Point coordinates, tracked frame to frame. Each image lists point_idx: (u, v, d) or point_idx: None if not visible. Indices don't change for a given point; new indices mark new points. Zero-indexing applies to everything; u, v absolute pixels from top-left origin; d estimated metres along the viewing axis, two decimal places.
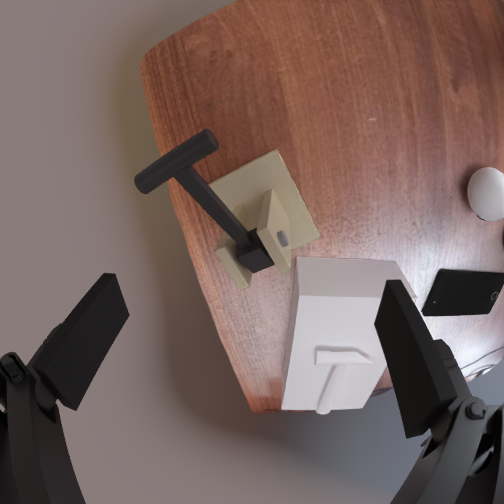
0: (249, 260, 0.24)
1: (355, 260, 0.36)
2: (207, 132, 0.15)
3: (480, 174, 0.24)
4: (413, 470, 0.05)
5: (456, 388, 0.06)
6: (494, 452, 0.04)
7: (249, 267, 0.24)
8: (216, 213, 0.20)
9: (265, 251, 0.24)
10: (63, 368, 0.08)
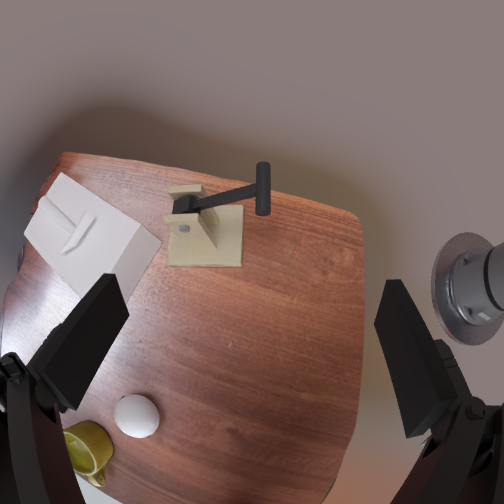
0: (183, 201, 0.34)
1: (136, 282, 0.44)
2: (267, 211, 0.28)
3: (155, 412, 0.34)
4: (413, 470, 0.05)
5: (456, 388, 0.06)
6: (494, 452, 0.04)
7: (179, 199, 0.34)
8: (222, 196, 0.31)
9: (183, 213, 0.34)
10: (63, 368, 0.08)
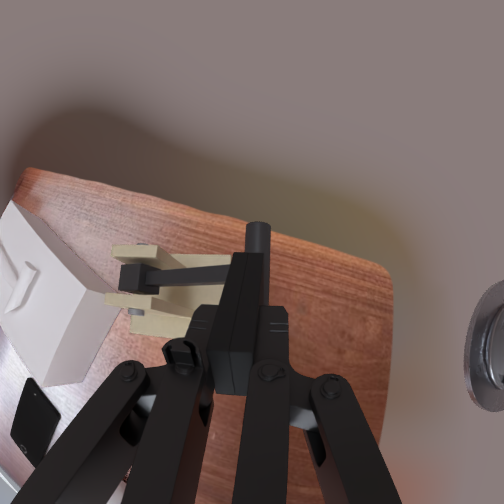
0: (132, 271, 0.21)
1: (97, 349, 0.31)
2: None
3: None
4: None
5: (272, 350, 0.09)
6: (324, 441, 0.06)
7: (127, 266, 0.21)
8: (188, 274, 0.19)
9: (132, 290, 0.21)
10: None
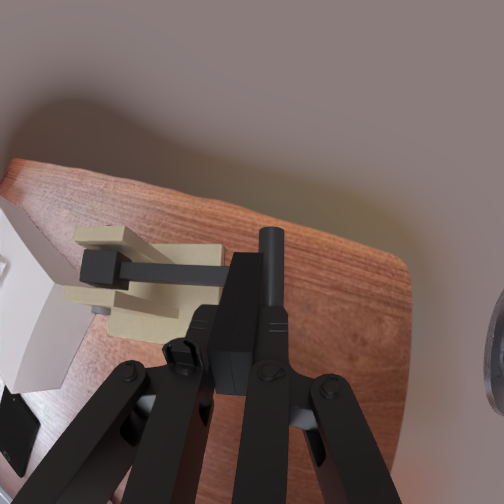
0: (104, 260, 0.16)
1: (74, 352, 0.26)
2: None
3: None
4: None
5: (272, 351, 0.09)
6: (323, 441, 0.06)
7: (94, 253, 0.16)
8: (186, 272, 0.16)
9: (101, 284, 0.16)
10: None
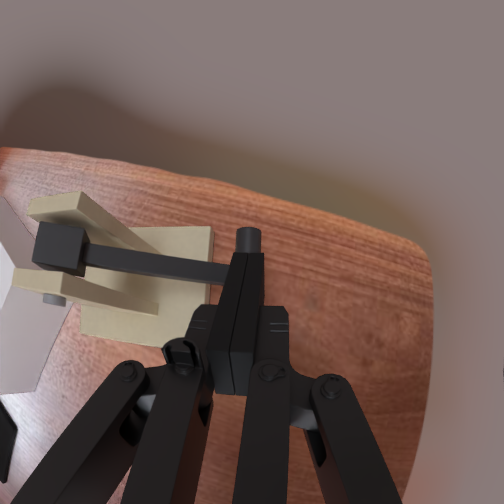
0: (67, 238, 0.12)
1: (47, 352, 0.21)
2: None
3: None
4: None
5: (272, 351, 0.09)
6: (324, 441, 0.06)
7: (54, 227, 0.11)
8: (164, 264, 0.14)
9: (60, 268, 0.12)
10: None
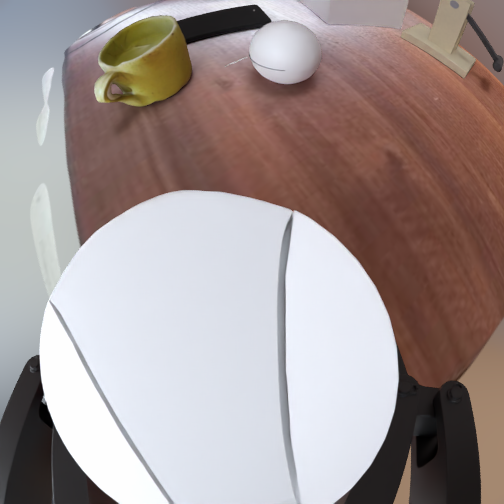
0: None
1: (363, 23, 0.29)
2: (499, 70, 0.19)
3: (320, 59, 0.21)
4: None
5: None
6: (439, 441, 0.05)
7: None
8: (483, 34, 0.18)
9: None
10: None
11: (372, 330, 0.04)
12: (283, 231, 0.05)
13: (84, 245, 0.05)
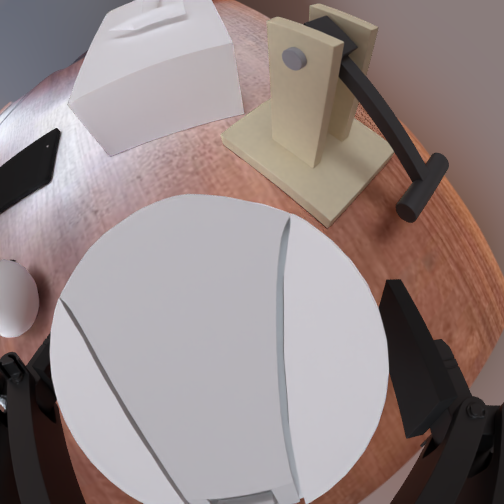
0: (342, 39, 0.11)
1: (163, 133, 0.24)
2: (411, 220, 0.15)
3: (23, 317, 0.17)
4: (413, 470, 0.05)
5: (456, 388, 0.06)
6: (494, 452, 0.04)
7: (336, 26, 0.11)
8: (391, 117, 0.13)
9: None
10: None
11: (363, 324, 0.04)
12: (281, 233, 0.05)
13: (94, 245, 0.05)
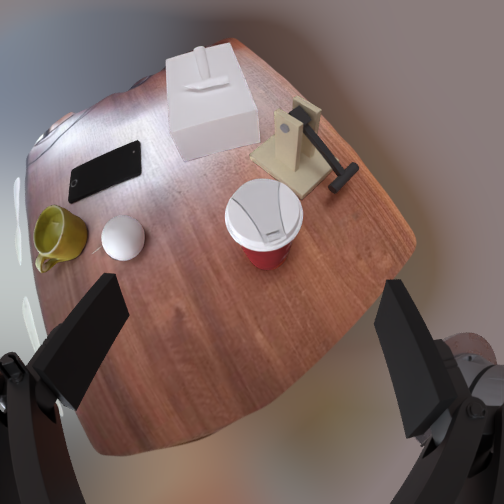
0: (305, 117, 0.35)
1: (216, 151, 0.48)
2: (335, 192, 0.38)
3: (139, 245, 0.40)
4: (413, 470, 0.05)
5: (456, 388, 0.06)
6: (494, 452, 0.04)
7: (303, 111, 0.35)
8: (325, 149, 0.37)
9: None
10: (63, 368, 0.08)
11: (293, 199, 0.28)
12: (278, 185, 0.28)
13: (240, 187, 0.29)
